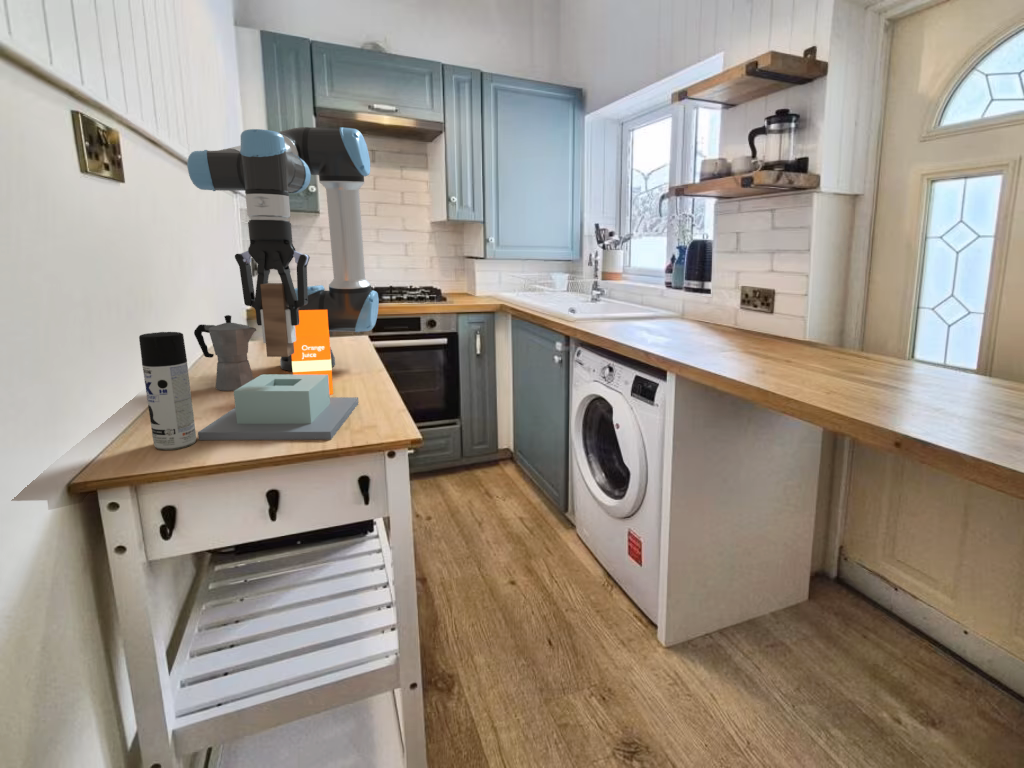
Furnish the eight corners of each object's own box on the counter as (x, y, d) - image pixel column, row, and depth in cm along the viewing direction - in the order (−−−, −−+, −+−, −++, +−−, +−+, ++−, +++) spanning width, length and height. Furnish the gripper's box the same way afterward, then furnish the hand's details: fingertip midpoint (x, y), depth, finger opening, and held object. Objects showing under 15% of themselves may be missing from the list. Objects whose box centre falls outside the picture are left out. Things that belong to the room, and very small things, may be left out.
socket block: (250, 403, 126) (247, 369, 124) (358, 403, 128) (356, 369, 126) (198, 440, 103) (193, 398, 101) (331, 439, 104) (328, 398, 102)
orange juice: (296, 388, 140) (289, 308, 135) (333, 386, 143) (327, 307, 138) (294, 396, 133) (287, 312, 128) (333, 394, 135) (328, 311, 130)
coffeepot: (270, 382, 146) (263, 313, 141) (252, 391, 136) (244, 318, 132) (211, 381, 146) (203, 312, 142) (190, 390, 137) (180, 317, 133)
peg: (274, 352, 114) (268, 283, 110) (294, 353, 114) (288, 283, 111) (267, 356, 110) (260, 284, 106) (287, 356, 110) (281, 284, 107)
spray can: (151, 442, 101) (134, 333, 96) (193, 435, 106) (179, 330, 101) (157, 453, 96) (140, 338, 92) (201, 445, 101) (187, 334, 96)
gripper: (213, 217, 102) (227, 344, 107) (309, 219, 103) (318, 345, 108) (231, 219, 109) (243, 338, 114) (320, 221, 110) (328, 339, 115)
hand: (279, 341), depth 111 cm, fingers closed on peg, 4 cm apart
